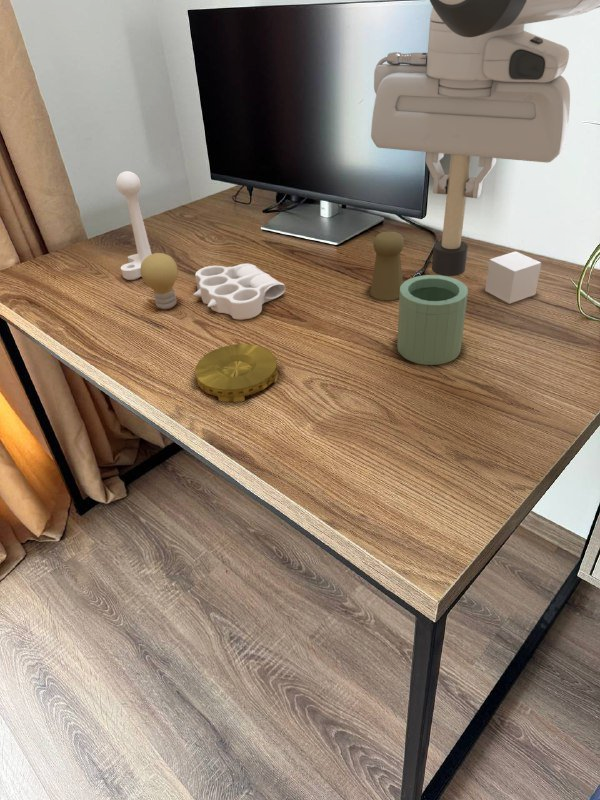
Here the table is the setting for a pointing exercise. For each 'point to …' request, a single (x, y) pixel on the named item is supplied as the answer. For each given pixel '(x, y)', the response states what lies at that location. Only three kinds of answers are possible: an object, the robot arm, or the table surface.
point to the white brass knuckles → (237, 289)
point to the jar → (431, 319)
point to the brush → (453, 221)
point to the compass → (236, 371)
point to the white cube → (512, 277)
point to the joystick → (134, 224)
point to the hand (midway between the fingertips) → (456, 194)
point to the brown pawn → (387, 266)
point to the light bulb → (160, 278)
